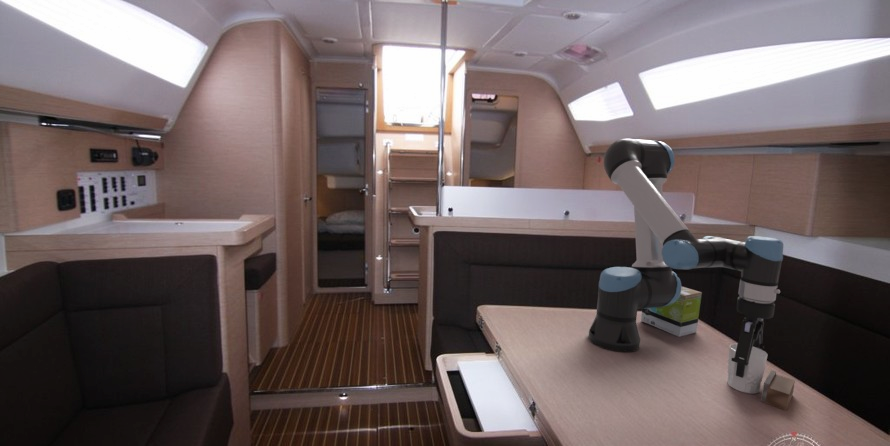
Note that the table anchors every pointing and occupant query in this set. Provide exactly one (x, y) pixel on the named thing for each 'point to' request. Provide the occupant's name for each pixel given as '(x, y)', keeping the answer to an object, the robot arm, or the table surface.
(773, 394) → the block
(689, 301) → the tea box
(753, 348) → the white cup
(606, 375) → the table surface
